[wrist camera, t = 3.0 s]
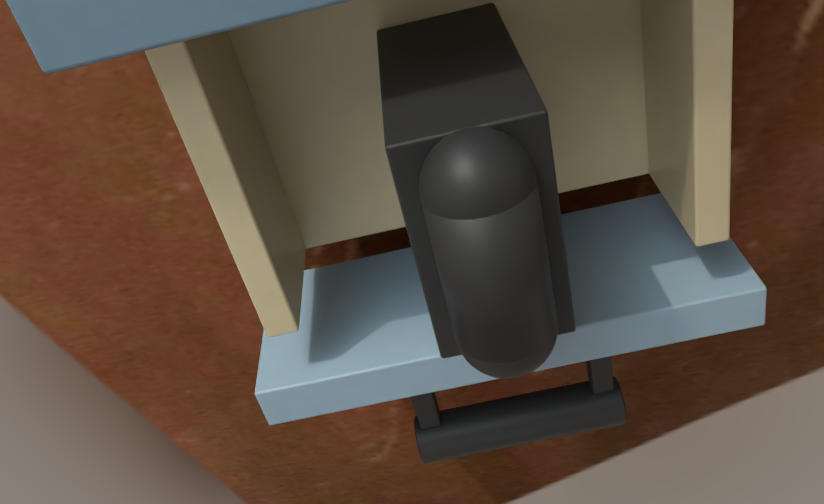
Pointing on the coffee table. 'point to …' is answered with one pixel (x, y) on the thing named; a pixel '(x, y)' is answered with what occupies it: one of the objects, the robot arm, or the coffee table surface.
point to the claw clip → (476, 188)
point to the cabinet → (135, 24)
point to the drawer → (380, 211)
